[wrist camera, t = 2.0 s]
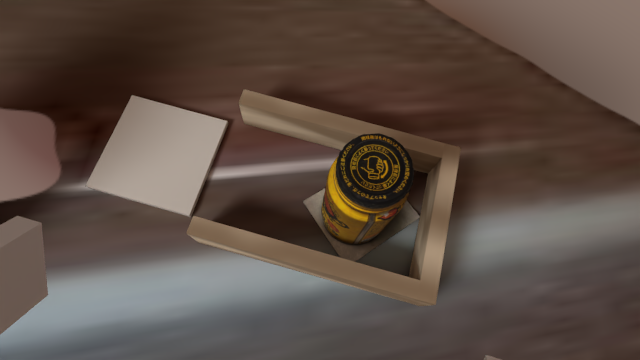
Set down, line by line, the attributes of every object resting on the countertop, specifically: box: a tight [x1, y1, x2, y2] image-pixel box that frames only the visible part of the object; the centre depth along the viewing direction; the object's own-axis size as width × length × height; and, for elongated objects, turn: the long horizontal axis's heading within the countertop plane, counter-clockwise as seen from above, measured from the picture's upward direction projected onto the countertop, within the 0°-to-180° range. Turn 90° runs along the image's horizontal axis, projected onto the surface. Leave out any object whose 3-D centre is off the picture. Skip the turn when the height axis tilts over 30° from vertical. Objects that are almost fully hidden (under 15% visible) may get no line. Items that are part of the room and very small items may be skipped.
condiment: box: [303, 133, 420, 262], centre depth 31 cm, size 7×8×12 cm
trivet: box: [86, 95, 228, 217], centre depth 37 cm, size 10×10×1 cm
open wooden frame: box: [187, 89, 461, 306], centre depth 35 cm, size 14×20×4 cm
